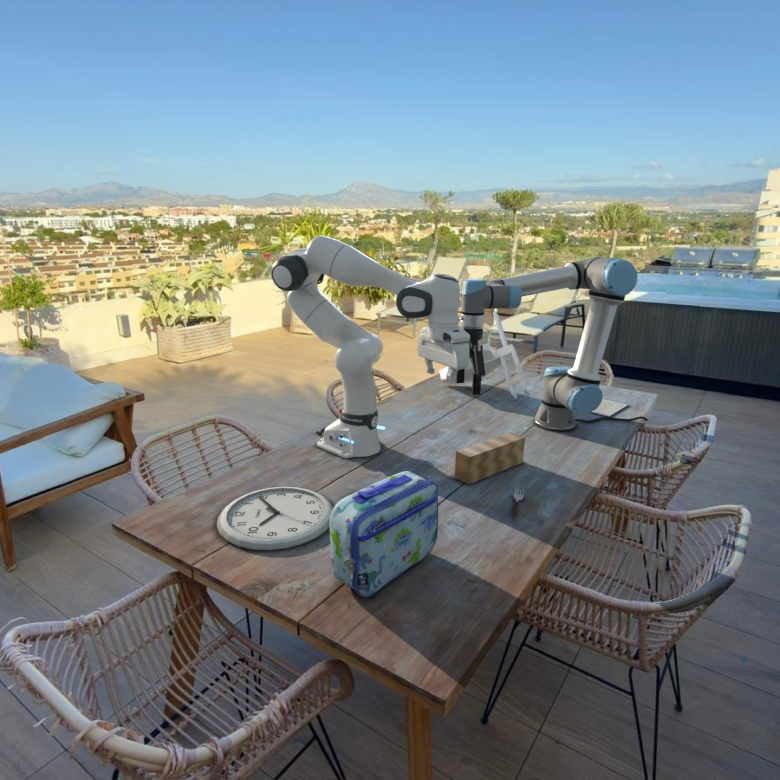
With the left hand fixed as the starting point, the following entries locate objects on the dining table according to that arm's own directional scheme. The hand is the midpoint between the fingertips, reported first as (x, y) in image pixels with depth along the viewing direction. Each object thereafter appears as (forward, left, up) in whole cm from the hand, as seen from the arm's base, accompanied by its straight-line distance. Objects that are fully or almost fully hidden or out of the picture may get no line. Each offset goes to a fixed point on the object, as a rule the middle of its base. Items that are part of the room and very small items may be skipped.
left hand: (440, 377), depth 156 cm
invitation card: (+34, +94, -30) cm, 104 cm away
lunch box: (+13, -52, -30) cm, 61 cm away
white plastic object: (-18, +84, -30) cm, 91 cm away
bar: (+14, +9, -30) cm, 35 cm away
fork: (+29, -9, -30) cm, 43 cm away
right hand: (0, +23, -10) cm, 25 cm away
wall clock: (-23, -48, -30) cm, 61 cm away
